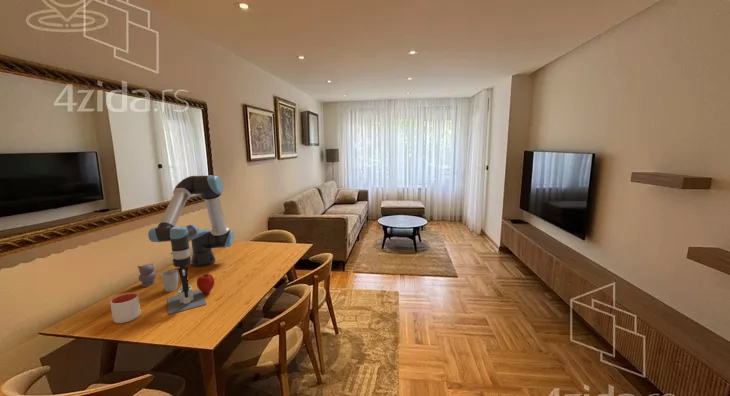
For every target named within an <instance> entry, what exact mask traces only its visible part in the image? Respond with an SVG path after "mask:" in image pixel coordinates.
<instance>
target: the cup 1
mask: <svg viewBox="0 0 730 396" xmlns="http://www.w3.org/2000/svg"><path fill="white" fill-rule="evenodd" d="M139 297H140V296H139V294H138V293H135V292H133V293H132V292H131V293H124V294H120V295H118V296H115V297H114V298H112V299H111V300H110V302H109V304H110V308H111V314H112V315H111V316H112V321H113V322H114V323H116V324H124V323H129V322H131V321H133V320H136V319H137V318H139V316H140V315H141V307H140V299H139Z"/></svg>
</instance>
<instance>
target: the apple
mask: <svg viewBox="0 0 730 396" xmlns="http://www.w3.org/2000/svg"><path fill="white" fill-rule="evenodd" d="M196 286H197V289H198V290H200V291H202V292H203V295H208V294H210V292H211V291H212V289H213V288H214V286H215V278H214V276H213V275H212V274H210V273H202V274H201V275H200V276H198V278H197V280H196Z"/></svg>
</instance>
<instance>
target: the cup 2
mask: <svg viewBox="0 0 730 396" xmlns="http://www.w3.org/2000/svg"><path fill="white" fill-rule="evenodd" d="M160 278H161V282H162V285H163V288H164V290H165V292H166V293H167V292H168V293H169V292H173V291H177V290H178V286H179V285H178V284H179V271H178V270H177V269H171V270H170V269H169V270H165V271H162V273H160Z"/></svg>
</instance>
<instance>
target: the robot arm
mask: <svg viewBox="0 0 730 396" xmlns="http://www.w3.org/2000/svg"><path fill="white" fill-rule="evenodd" d="M223 191H224V185H223V182H222V179H221V178H220V176H218V175H211V174H210V175H190V176H187V177H185V178H184V179H181V181H180V182H178V183H177V184H176V185H175V187H174V188H173V190H172V194H173V195H172V197H171V200H170V201H169V203H168V205H167V207H166V209H165V210H164V211H165V212H164V213H163V216H162V217H161V219H160V220H159V223H158V225H157V227H155V226H154V227H151V228H150V229H149V230H148V233H147V235H148V236H147V237H148V240H149V241H151V242H152V243H165V242H166V243H167V242H170V245H171V246H170V247H171V252H170V255H172V258H173V259H172V262H173V263H172V265H173V266H174V267H175V268H177V269H178V276H179V279H180V284H181V285H180V286H181V287H182V288H183V290H182V291H181V292H183V300H184V304H186V303H189V302H190V296H189V287H188V286H189V279H188V276H189V274H188V273H189V269H188V265H190V266H191V267H194V268H195V267H199V268H200V267H206V266H210V265H212V264H214V263H215V262H216V261H217V260H216V257H215V254H214V252H213V249H222V248H223V249H224V248H230V247H231V246H232V245H233V243H234V238H235V237H234V236H235V235H234V234H235V233H234V230H231V229H230V227H229V226H228V225H227V224H226V220H225V216H224V211H223V208H222V203H221V199H220V197H221V196H222V193H223ZM192 195H200V198H201V200H204V202H205V207H206V212H207V214H208V218H209V221H210V225H211V230H210V228H203V229H199V227H198V226H197V225H196V224H187V225H179V226H178V225H177V223H178V221H179V219H180V218H181V217H180V216H181V214H182V212H183V210H184V207H185V206H186V203H187V201H188V200H189V199H190V198H191V197H192ZM190 242H191V249H192V255H191V249H190ZM191 256H192V257H191ZM181 287H180V288H181ZM186 288H187V289H186Z"/></svg>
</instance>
